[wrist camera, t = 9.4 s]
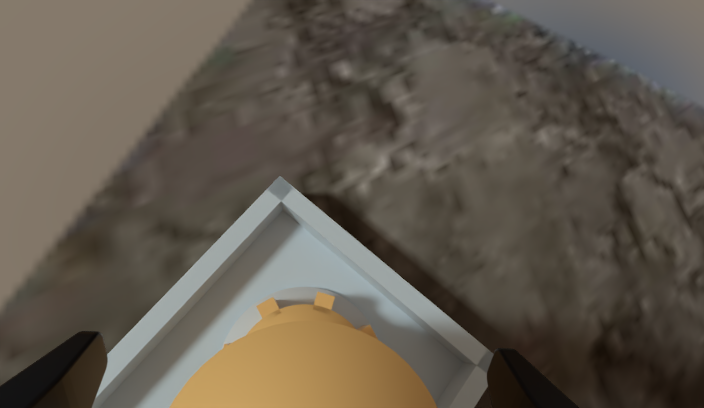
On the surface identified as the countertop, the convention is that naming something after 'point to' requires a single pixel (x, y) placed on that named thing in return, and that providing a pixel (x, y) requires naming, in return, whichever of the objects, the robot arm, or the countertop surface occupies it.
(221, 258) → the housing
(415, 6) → the countertop surface
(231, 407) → the tan gear peg
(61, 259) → the countertop surface
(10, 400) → the robot arm
